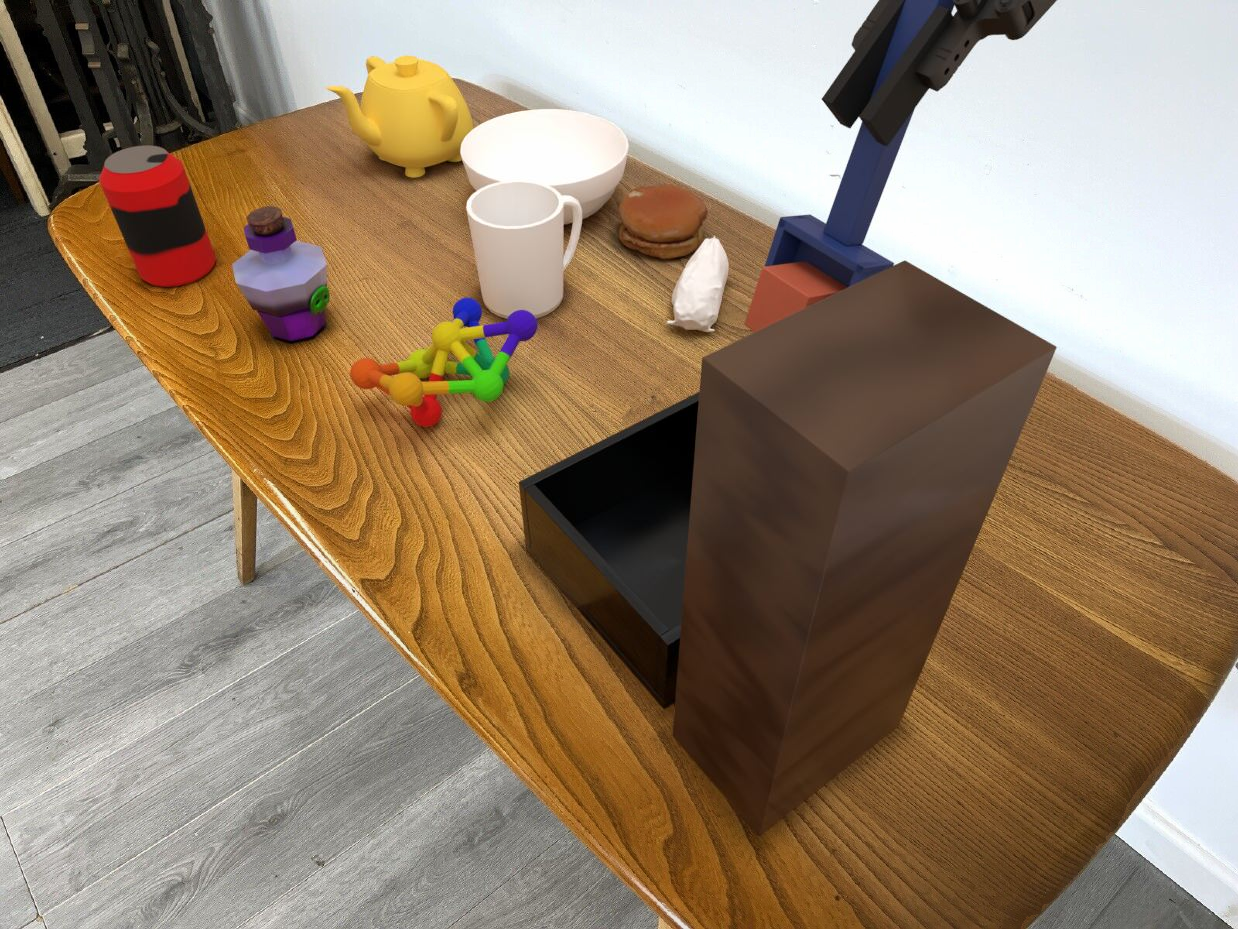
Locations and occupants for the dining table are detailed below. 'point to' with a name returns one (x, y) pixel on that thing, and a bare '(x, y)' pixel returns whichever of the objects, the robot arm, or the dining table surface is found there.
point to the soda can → (157, 215)
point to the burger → (662, 221)
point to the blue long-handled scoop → (854, 185)
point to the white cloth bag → (701, 288)
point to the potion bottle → (283, 277)
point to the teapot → (409, 113)
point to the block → (788, 292)
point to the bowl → (549, 154)
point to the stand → (836, 523)
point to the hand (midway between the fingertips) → (854, 122)
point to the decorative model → (449, 362)
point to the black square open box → (622, 538)
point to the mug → (521, 245)
